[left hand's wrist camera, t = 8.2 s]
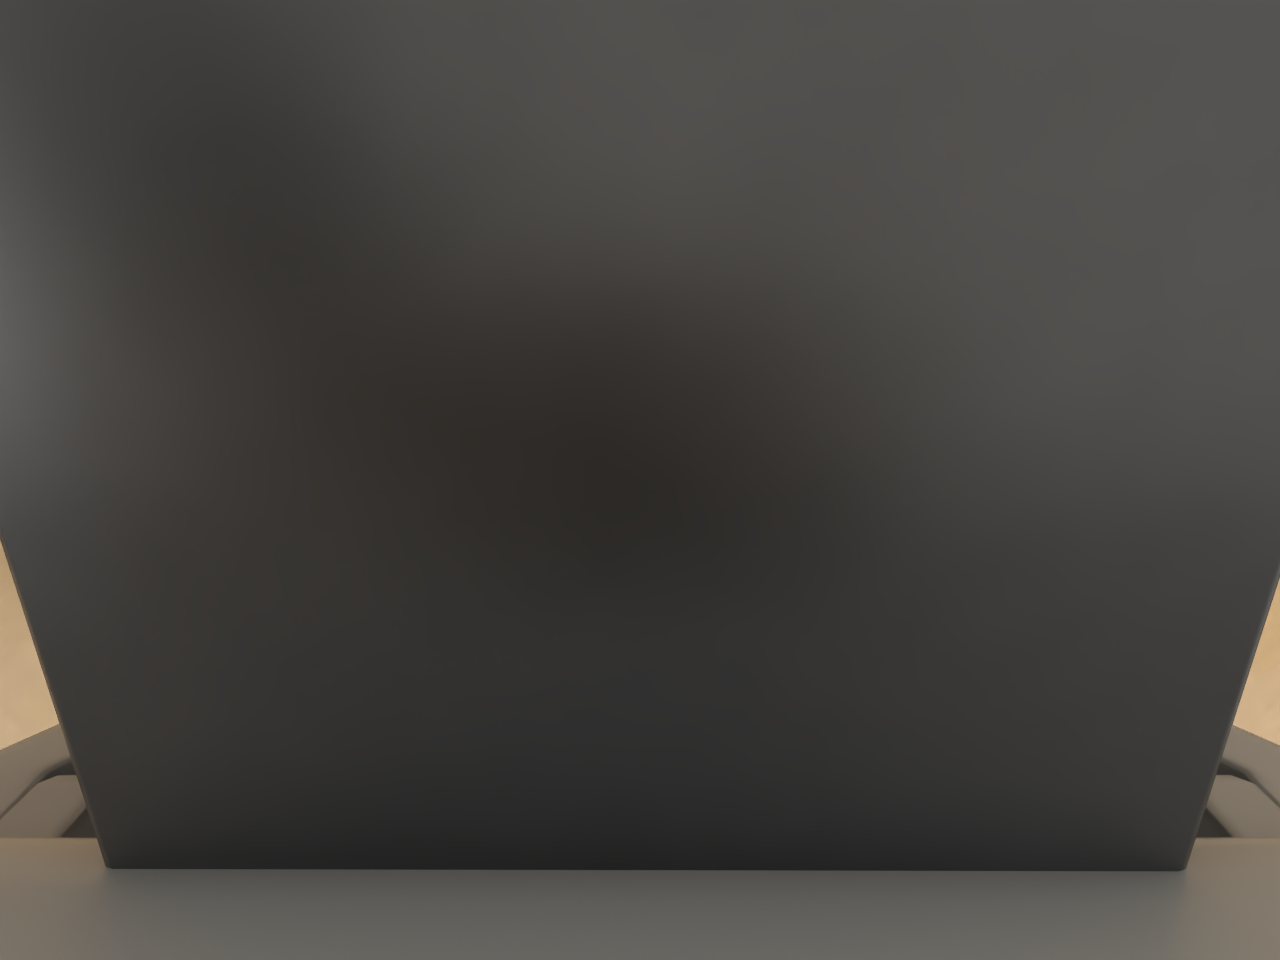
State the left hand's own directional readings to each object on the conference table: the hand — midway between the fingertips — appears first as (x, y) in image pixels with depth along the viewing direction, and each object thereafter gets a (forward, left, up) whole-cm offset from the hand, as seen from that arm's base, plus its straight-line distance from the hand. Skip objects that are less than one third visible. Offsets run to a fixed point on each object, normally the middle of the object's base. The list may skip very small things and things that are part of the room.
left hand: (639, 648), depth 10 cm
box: (-5, +8, -8) cm, 12 cm away
